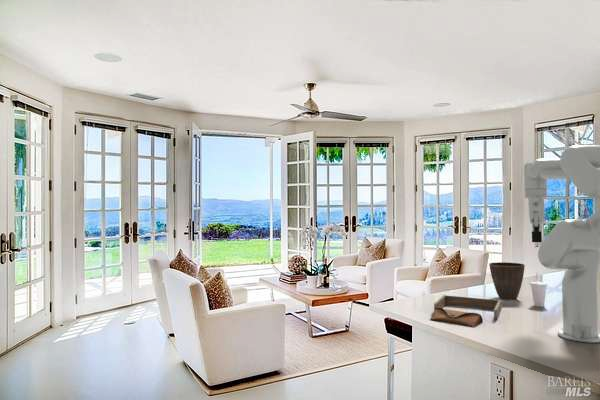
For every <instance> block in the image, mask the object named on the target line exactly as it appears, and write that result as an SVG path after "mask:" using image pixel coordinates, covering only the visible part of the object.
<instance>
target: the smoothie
mask: <svg viewBox="0 0 600 400" xmlns="http://www.w3.org/2000/svg"><path fill="white" fill-rule="evenodd" d="M535 278H536V281H531V282H530V286H531V292H532V299H533V306H534V307H545V303H546V302H545V301H546V295H547V294H546V293H547V287H548V283H547V282H543V281H542V282H540V281H539V273H538V272H536V276H535Z"/></svg>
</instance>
